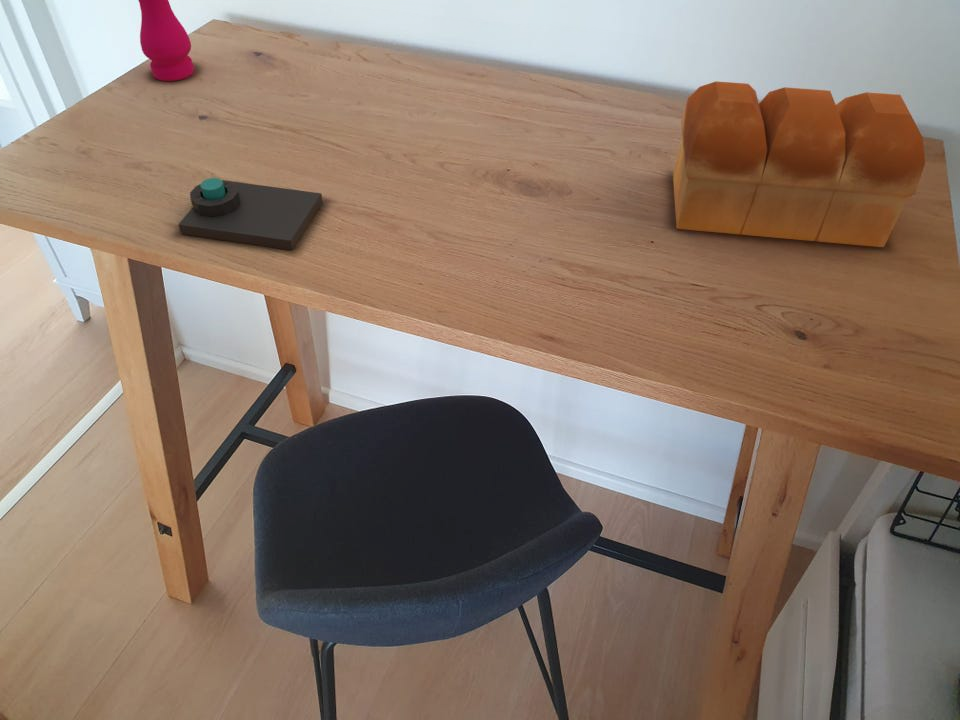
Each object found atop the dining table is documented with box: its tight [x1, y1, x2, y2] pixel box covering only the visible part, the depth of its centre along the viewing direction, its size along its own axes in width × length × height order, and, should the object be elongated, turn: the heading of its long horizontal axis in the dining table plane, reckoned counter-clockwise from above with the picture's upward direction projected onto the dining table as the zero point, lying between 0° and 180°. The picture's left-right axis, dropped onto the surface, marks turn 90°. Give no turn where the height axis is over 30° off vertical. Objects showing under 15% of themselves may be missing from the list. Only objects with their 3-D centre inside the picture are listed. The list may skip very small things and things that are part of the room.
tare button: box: [199, 177, 226, 200], centre depth 91 cm, size 3×3×2 cm
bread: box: [672, 80, 926, 248], centre depth 90 cm, size 25×12×15 cm, turn 82°
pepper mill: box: [137, 0, 195, 82], centre depth 113 cm, size 7×7×20 cm
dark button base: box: [177, 179, 324, 251], centre depth 92 cm, size 14×10×3 cm
